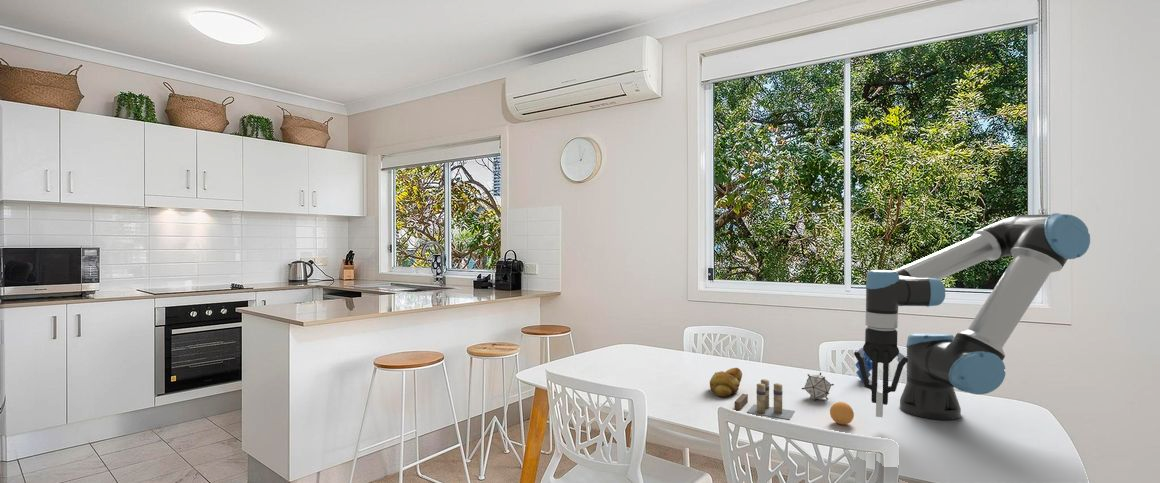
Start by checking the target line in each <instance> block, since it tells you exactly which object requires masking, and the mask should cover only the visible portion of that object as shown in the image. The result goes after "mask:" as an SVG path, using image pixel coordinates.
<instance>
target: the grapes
mask: <svg viewBox="0 0 1160 483" xmlns="http://www.w3.org/2000/svg"><path fill="white" fill-rule="evenodd" d="M862 348H863V347H861V348H859V349H858V350H860V349H862ZM863 358H864V362H865V366H866V370H867V374H868V378H870V376H871V373H870V372H871V371H872V361H871V360H870V359H869V357H868V356H867V354H866V353H865V352H864V357H863ZM854 366H855V367H856V368H857V371H856V372H855V374H856V375H857V376H858V378H859V379H860V381H862V382H863V379H862V375H861V371H860V367H859V363H858V361H857V362H856V363H855V364H854Z"/></svg>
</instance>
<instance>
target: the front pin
mask: <svg viewBox="0 0 1160 483" xmlns="http://www.w3.org/2000/svg"><path fill="white" fill-rule="evenodd" d="M783 392H784V391H783V384H781V383H773V393H772V394H773V407H774V413H776V414H782V409H783Z"/></svg>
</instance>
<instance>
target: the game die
mask: <svg viewBox="0 0 1160 483" xmlns="http://www.w3.org/2000/svg"><path fill="white" fill-rule="evenodd" d="M807 376H808V378H807V379H806V383H805V385H804V387H802V388H801V390H805V391H806V392H807V394H809V395H810V397H812V398H813V401H814V402H816V400H817V399H825V400H829V397H827V396H828V395H830V389H831V387H832V386H834V385H835V384H834V383H831V382H829V381H828V379H826V377H825V376H823V375H822V372H820V373H819V374H814V375H813V374H812V375H810V374H809V373H807Z"/></svg>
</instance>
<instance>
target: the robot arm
mask: <svg viewBox="0 0 1160 483" xmlns="http://www.w3.org/2000/svg"><path fill="white" fill-rule="evenodd" d="M1090 244H1091V234H1090V233H1089V228H1088V226H1087V224H1086V223H1085V222H1084V221H1083V220H1082V219H1081V218H1079V217H1077V216H1075V215H1072V214H1065V213H1057V212H1055V213H1051V214H1020V215H1019V214H1017V215H1014V216H1011V217H1007V218H1003V219H1002V220H999V221H995V222H993V223H992V224H989V225H987V226H984V227H983V228H980V229H978V230H975V231H974V232H973V233H972V236H970V237H968V238H966V239H964V240H962V241H959V242H956V243H954V244H952V245H950V246H947V247H945V248H943V249H941V250H939V251H938V250H937V251H936V252H934V253H932V254H929V255H927V256H925V257H922V258H920V259H917V260H914V261H913V262H911V263H907V264H906V265H903V266H901V267H899V268H895V269H894V270H890V269H889V270H887V269H884V270H883V269H872V270H870V271H868V272H867V274H866V282H865V289H866V290H865V326H866V327H865V331H864V333H865V334H864V335H865V336H864V344H863V347H861V348H862V349H861V348H859V349H860V350H859V349H857V350H855V351H854V352H853V355H854V357H855V358H856V359H857V362H858V363H859V367H860V371H861V375H862V379H863V381H862V382H863V387H864V388H866V389H868V390H870V392H871V403H872V404H873V403H874V404H875V417H877V418H883V416H884V415H883V414H884V405H888V403H889V402H888V401H889V393H894V392H896V391H897V387H898V386H899V381H900V379H901V375H902V371H903V368H904V366H905V365H906V382H905V386H904V389H903V392H902V393H901V396H900V399H899V408H900V409H901V410H902V411H903V412H905V413H907V414H910V415H912V416H917V417H920V418H924V419H925V418H926V419H929V420H930V419H931V420H939V421H940V420H943V421H950V420H952V421H953V420H957V419H959V418H961V415H962V412H961V411H962V410H961V409H962V408H961V405H960V403H959V399H958V397H957V394H956V392H955V389H957V390H959V391H961V392H963V393H969V394H973V395H986V394H989V393H992V392H994V391H995V390H997V389H998V388H999V387H1000V386H1001V385H1002V384H1003V382H1004V380H1005V378H1006V371H1005V370H1006V365H1005V363H1004V359H1005V357H1006V354H1005V352H1004V349H1003V347H1004V346H1005V344H1006V342H1007V341H1008V339H1009V338H1010V337H1011V335H1012V334H1013V332H1014V331H1015V329H1016V327H1017V325H1019V322H1020V321H1021V320H1022V319H1023V318H1022V317H1023V316H1024V315H1025V313H1027V310H1028V309H1029V307H1030V306H1031V305H1032V302H1033V301H1034V299H1035V297H1036V296H1037V295H1038V293H1039V292H1040V290H1041V289H1042V287H1043V285H1044V284H1045V283H1046V280H1047V279H1048V278H1049V276H1050V274H1051V273H1055V272H1060V271H1061V270H1063V267H1064V266H1065V264H1066V263H1067V261H1068V260H1075V259H1077V258H1081V257H1082V256H1084V255H1085V254H1086V253H1087V252H1088V250H1089V248H1090ZM1010 256H1012V259H1011V261H1010V263H1009V265H1008V266H1007V268H1006V269H1005V271H1004V272H1003V274H1002V275H1001V277H1000V278H999V280H998V281H997V283H996V284H995V286H994V287H993V289H992V291H991V292H990V294H989V295H988V297H987V299H986V300H985V302H984V304H982V306H981V308H980V309H979V311H978V312H977V314H976V315H975V317H974V318H973V320H972V322H971V324H970V325H969V326H968V328H967V329H966V330H963V331H959V332H957V333H956V334H955V336H954V335H953V334H949V333H932V332H931V333H929V332H928V333H926V332H925V333H924V332H923V333H921V332H919V333H912V334H909V335H908V337H907V340H906V345H905V346H906V347H905V348H906V355H904V354H903V353H902V352H901V351H900V349H899V347H898V331H897V329H898V323H899V321H898V320H899V318H898V317H899V307H934V306H935V307H936V306H937V307H938V306H940V305H941V304H942V303H943V302H944V301H945V298H946V291H947V290H946V287H945V285H944V283H943V282H942V281H941V280H942V279H944V278H947V277H949V276H951V275H953V274H956V273H958V272H961V271H963V270H966V269H968V268H971V267H972V266H975V265H978V264H979V263H982V262H985V261H987V260H988V261H997V260H999V259H1001V258H1004V257H1010ZM864 352H865V353H866V354H867V356H868V357H869V359H870V360H871V361H872V370H871V382H870V379H869V378H870V377H869V378H868V374H867V370H866V366H865V362H864V358H863V357H864ZM896 357H897V360H896V361H897V362H898V363H897V365H896V369H895V372H894V376H893V378H892V381H891V385H889V374H890V373H889V368H890V366H889V365H890V363H892V362H893V360H894V359H895V358H896ZM879 364H882V390H881V389H878V377H879V376H878V371H879V370H878V369H879V368H878V367H879Z"/></svg>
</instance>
